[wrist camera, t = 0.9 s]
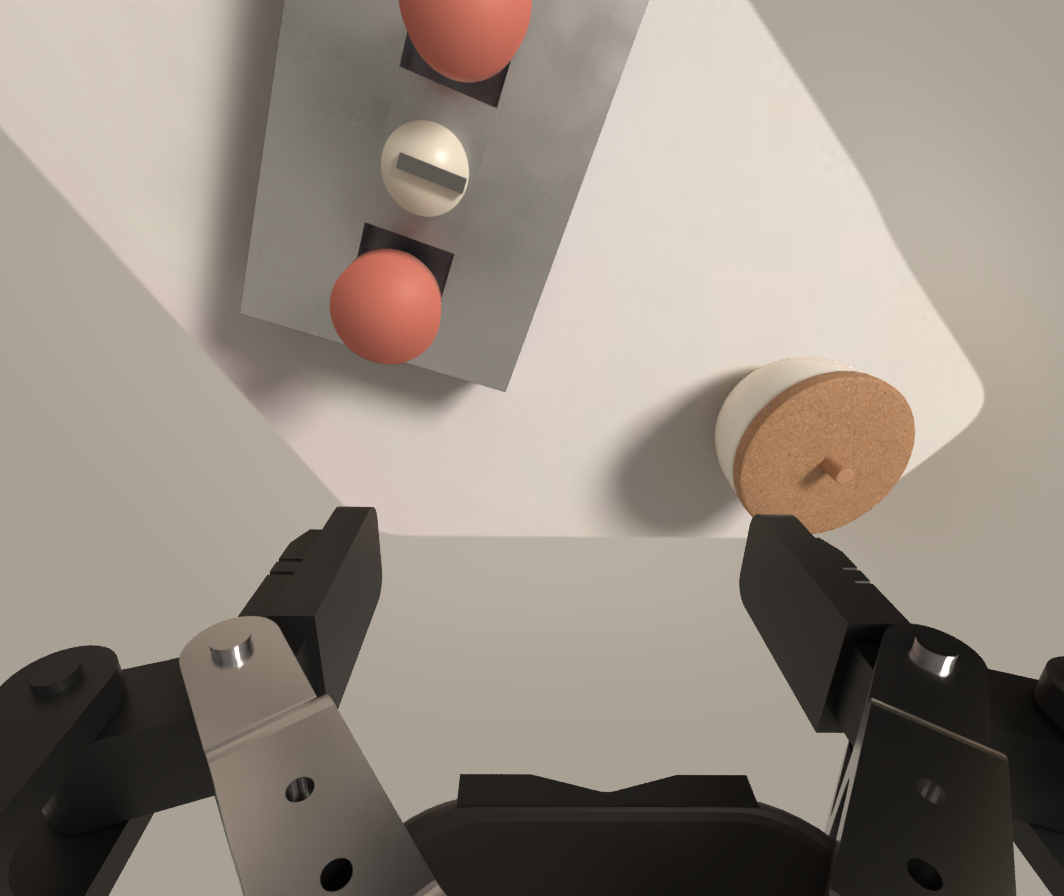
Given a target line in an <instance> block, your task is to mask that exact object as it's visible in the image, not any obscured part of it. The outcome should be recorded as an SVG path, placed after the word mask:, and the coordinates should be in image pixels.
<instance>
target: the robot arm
mask: <svg viewBox="0 0 1064 896" xmlns="http://www.w3.org/2000/svg"><path fill="white" fill-rule="evenodd" d="M869 581H870V580H868V578H867V577H866V576H865V575H864V574H863V573H862V572H861V571H860V570H857V567H856V566H855V565H854V564H853V563H852V562H851V560H849V558H848V557H847V556H846V555H845V554H844V553H843V552H842V551H840V550H839V549H837V548H835V547H834V546H832V545H830V544H829V543H827V542H825V541H824V540H822V539H820V538H815V537H814V536H813V535H812V534H811V533H810V532H809V531H808V529H807V528H806V527H805V526H804V525H803V524H802V523H801V522H800V521H799V520H798V518H797V517H795V516H794V515H790V514H756V515H755V516H754V517H753V518H752V520H751V523H750V527H749V532H748V537H747V542H746V547H745V552H744V557H743V563H742V568H741V572H740V580H739V586H740V594H741V599H742V602H743V605H744V606H745V608H746V610H747V612H748V614H749V615H750V617H751V619H752V621H753V622H754V624H755V626H756V628H757V629H758V631H759V633H760V635H761V637H762V638H763V640H764V642H765V644H766V645H767V647H768V649H769V650H770V652H771V654H772V656H773V658H774V659H775V661H776V663H777V665H778V666H779V668H780V670H781V671H782V673H783V675H784V677H785V679H786V680H787V682H788V684H789V686H790V687H791V689H792V691H793V693H794V694H795V696H796V698H797V700H798V701H799V703H800V705H801V706H802V709H803V710H804V712H805V713H806V715H807V717H808V719H809V721H810V722H811V724H812V726H813V728H814V730H815V731H816V732H817V733H845V735H846V736H847V738H848V739H849V741H848V744H847V748H846V750H845V754H844V757H843V761H842V765H841V769H840V773H839V777H838V781H837V785H836V788H835V792H834V797H833V800H832V804H831V808H830V812H829V816H828V820H827V824H826V828H825V832H822V831H821V830H820V829H818V828H816V827H815V826H813V825H811V824H810V823H808V822H806V821H804V820H803V819H801V818H799V817H797V816H794V815H792V814H790V813H788V812H786V811H784V810H781V809H778V808H775V807H773V806H770V805H767V804H764V803H761V802H757V801H756V798H755V796H754V794H753V791H752V788H751V786H750V784H749V781H748V778H747V776H746V775H675V776H671V777H667V778H664V779H660V780H656V781H652V782H649V783H644V784H641V785H637V786H633V787H629V788H625V789H621V790H618V791H614V792H600V791H596V790H591V789H588V788H584V787H579V786H576V785H572V784H567V783H564V782H559V781H555V780H551V779H547V778H543V777H539V776H535V775H530V774H529V775H528V774H527V775H524V774H518V775H517V774H513V775H512V774H507V775H506V774H460V781H459V790H458V799H456V800H452V801H449V802H445V803H442V804H440V805H437V806H434V807H432V808H429V809H427V810H425V811H424V812H421V813H419V814H417V815H416V816H414V817H412V818H410V819H409V820H407V821H406V822H404V823H403V822H402V821H401V819H400V817H399V815H398V814H397V812H396V810H395V808H394V807H393V805H392V803H391V801H390V800H389V798H388V796H387V795H386V793H385V791H384V789H383V787H382V786H381V784H380V782H379V781H378V779H377V777H376V775H375V773H374V772H373V770H372V768H371V767H370V765H369V763H368V761H367V760H366V758H365V756H364V755H363V753H362V751H361V749H360V747H359V746H358V744H357V742H356V740H355V739H354V737H353V735H352V733H351V732H350V730H349V728H348V726H347V725H346V723H345V721H344V720H343V718H342V716H341V714H340V713H339V711H338V708H339V705H340V702H341V700H342V697H343V694H344V691H345V689H346V686H347V684H348V681H349V678H350V676H351V673H352V670H353V667H354V664H355V662H356V659H357V657H358V654H359V651H360V649H361V646H362V643H363V641H364V638H365V635H366V632H367V629H368V627H369V625H370V622H371V619H372V616H373V614H374V611H375V608H376V606H377V603H378V600H379V597H380V591H381V585H382V566H381V555H380V543H379V531H378V520H377V513H376V510H375V508H374V507H337V508H336V509H335V510H334V512H333V513H332V515H331V516H330V518H329V520H328V521H327V523H326V524H325V526H324V528H323V529H322V530H313V529H312V530H311V529H310V530H309V531H307V532H305V533H304V534H303V535H301V536H300V537H298V538H297V539H295V540H294V541H292V542H291V543H290V544H289V545H288V547H287V548H286V549H285V551H284V552H283V554H282V555H281V557H280V558H279V562H276V564H275V565H274V566H273V568H272V569H271V571H270V575H267V576H266V578H265V579H264V581H263V582H262V583H261V585H260V586H259V588H258V589H257V591H256V592H255V593H254V595H253V596H252V597H251V599H250V600H249V602H248V603H247V605H246V606H245V608H244V609H243V610H242V612H241V613H240V615H239V616H238V617H237V618H232V619H228V620H225V621H222V622H219V623H217V624H214V625H212V626H210V627H208V628H206V629H205V630H203V631H201V632H200V633H198V634H197V635H196V636H195V637H193V638H192V639H191V640H190V641H189V642H188V643H187V645H186V646H185V647H184V648H183V650H182V652H181V654H180V657H179V658H175V659H171V660H167V661H162V662H157V663H153V664H147V665H143V666H138V667H133V668H129V669H123V670H121V667H120V664H119V661H118V658H117V655H116V654H115V652H114V651H112V650H111V649H109V648H106V647H102V646H92V645H89V646H79V647H74V648H69V649H65V650H61V651H58V652H55V653H53V654H50V655H48V656H45V657H43V658H40V659H38V660H37V661H34V662H33V663H31V664H29V665H27V666H26V667H24V668H22V669H21V670H19V671H18V672H16V673H15V674H14V675H12V676H11V677H10V678H9V679H8V680H7V681H6V682H4V683H3V684H2V685H1V686H0V896H109V894H110V892H111V890H112V888H113V886H114V884H115V883H116V881H117V879H118V877H119V875H120V874H121V872H122V870H123V868H124V867H125V865H126V863H127V861H128V859H129V858H130V856H131V854H132V852H133V850H134V848H135V847H136V845H137V843H138V841H139V839H140V838H141V836H142V834H143V832H144V830H145V829H146V827H147V825H148V823H149V821H150V819H151V818H152V816H153V814H154V812H159V811H162V810H166V809H169V808H173V807H176V806H179V805H183V804H187V803H190V802H194V801H197V800H200V799H204V798H207V797H211V796H214V795H215V799H216V803H217V806H218V809H219V813H220V817H221V820H222V824H223V827H224V831H225V834H226V838H227V841H228V845H229V849H230V852H231V856H232V859H233V863H234V866H235V870H236V873H237V877H238V880H239V884H240V888H241V891H242V895H243V896H1016V881H1015V864H1014V847H1013V842H1014V843H1015V844H1016V846H1017V847H1018V849H1019V850H1020V851H1021V852H1022V854H1023V855H1024V857H1025V858H1026V860H1027V861H1028V862H1029V864H1030V865H1031V866H1032V868H1033V869H1034V871H1035V872H1036V873H1037V875H1038V876H1039V877H1040V879H1041V880H1042V881H1043V883H1044V884H1045V886H1046V887H1047V888H1048V890H1049V891H1050V893H1051V894H1052V895H1053V896H1064V656H1063V657H1056V658H1052V659H1051V660H1049V661H1048V662H1047V664H1046V666H1045V668H1044V670H1043V672H1042V674H1041V676H1040V678H1039V680H1036V679H1032V678H1027V677H1023V676H1018V675H1014V674H1009V673H1005V672H1000V671H996V670H991V669H988V668H987V666H986V664H985V662H984V660H983V659H982V658H981V657H980V656H979V654H977V652H976V651H974V650H973V649H972V648H971V647H969V646H968V645H967V644H965V643H964V642H962V641H961V640H959V639H957V638H955V637H953V636H951V635H949V634H947V633H945V632H943V631H940V630H937V629H935V628H931V627H928V626H924V625H919V624H912V623H910V622H909V621H908V620H907V619H906V618H905V617H904V616H903V615H902V614H901V613H900V612H899V611H898V610H897V609H896V608H895V607H894V606H893V604H892V603H890V601H889V600H888V599H887V598H886V597H885V596H884V595H883V594H882V593H881V592H880V591H879V590H878V589H877V588H876V587H875V586H874V585H873V584H870V582H869Z"/></svg>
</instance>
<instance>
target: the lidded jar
mask: <svg viewBox="0 0 1064 896" xmlns="http://www.w3.org/2000/svg"><path fill="white" fill-rule="evenodd" d="M914 437H915V426H914V418H913V415H912V411H911V408H910V406H909V404H908V403H907V401H906V399H905V398H904V397H903V396H902V394H901V393H900V392H899V391H898V390H897V389H895V388H894V387H892V386H891V385H889V384H888V383H886V382H885V381H883V380H881V379H879V378H876V377H874V376H871V375H868V374H866V373H863V372H861V371H859V370H857V369H855V368H852V367H850V366H847V365H845V364H842V363H839V362H836V361H832V360H827V359H822V358H816V357H794V358H786V359H781V360H778V361H774V362H772V363H769V364H767V365H765V366H762V367H760V368H758V369H757V370H755V371H753V372H752V373H750V374H749V375H747V376H746V377H745V378H744V379H742V380H741V381H740V382H739V383H738V384H737V385H736V386H735V387H734V388H733V390H732V391H731V392H730V394H729V395H728V396H727V398H726V400H725V401H724V403H723V405H722V407H721V410H720V412H719V415H718V418H717V422H716V427H715V448H716V454H717V457H718V460H719V463H720V466H721V469H722V471H723V473H724V475H725V477H726V479H727V481H728V483H729V484H730V486H731V488H732V489H733V490H734V492H735V493H736V495H737V496H738V498H739V499H740V501H741V503H742V505H743V506H744V508H745V509H746V510H747V511H748V513H749V514H750V515H751V516H752V517H754V516H755V515H756V514H790V515H794V516H795V517H797V518H798V520H799V521H800V522H801V523H802V524H803V525H804V526H805V527H806V528H807V529H808V531H809V532H810V533H811V534H817V533H822V532H826V531H829V530H833V529H836V528H838V527H841V526H843V525H846V524H848V523H850V522H851V521H853V520H855V519H857V518H859V517H860V516H862V515H863V514H865V513H866V512H868V511H869V510H871V509H872V508H873V507H874V506H875V505H876V504H877V503H879V502H880V501H881V500H882V499H883V498H884V497H885V496H886V495H887V494H888V493H889V492H890V491H891V490H892V488H893V487H894V485H895V484H896V483H897V481H898V480H899V479H900V477H901V475H902V474H903V472H904V470H905V469H906V466H907V464H908V461H909V459H910V456H911V453H912V449H913V446H914Z"/></svg>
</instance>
